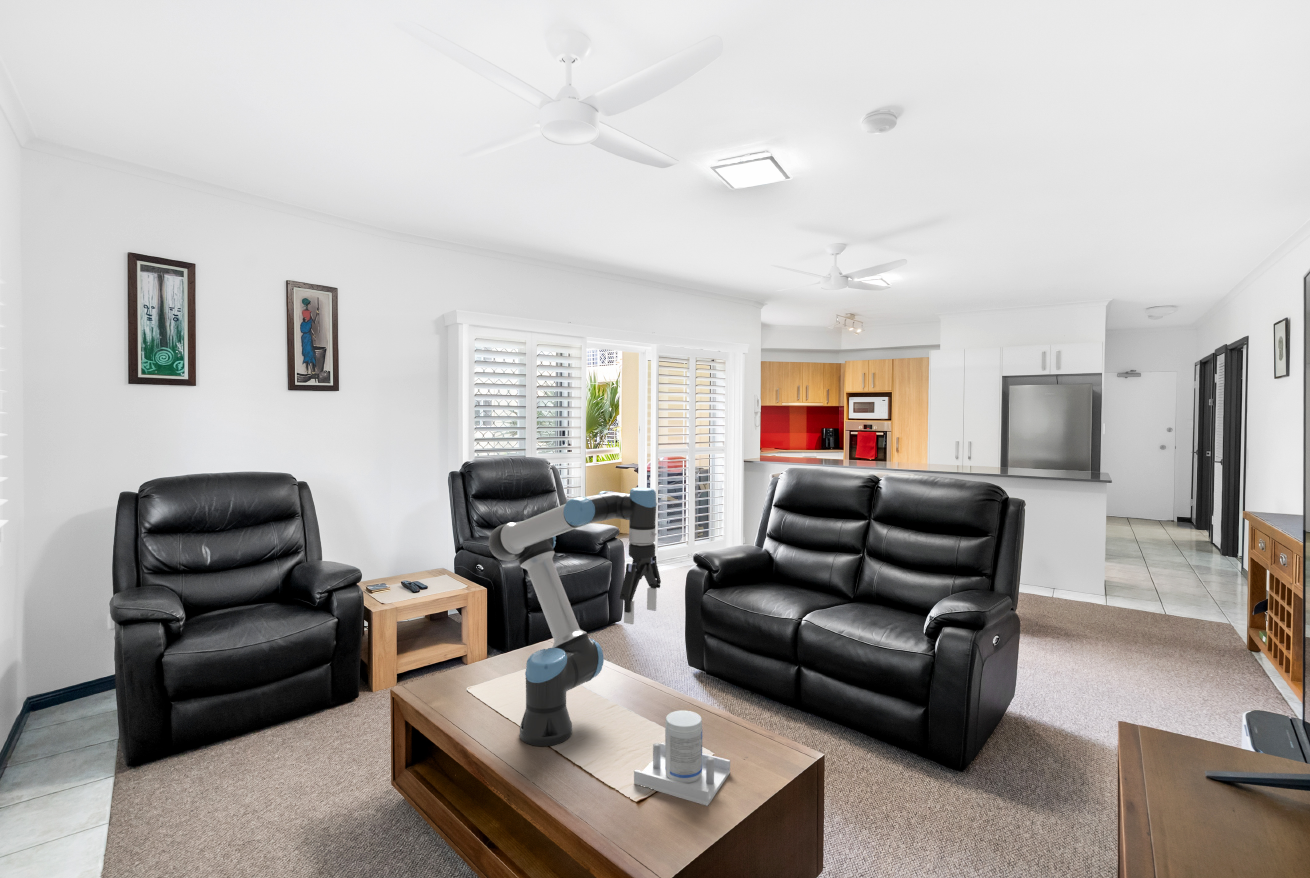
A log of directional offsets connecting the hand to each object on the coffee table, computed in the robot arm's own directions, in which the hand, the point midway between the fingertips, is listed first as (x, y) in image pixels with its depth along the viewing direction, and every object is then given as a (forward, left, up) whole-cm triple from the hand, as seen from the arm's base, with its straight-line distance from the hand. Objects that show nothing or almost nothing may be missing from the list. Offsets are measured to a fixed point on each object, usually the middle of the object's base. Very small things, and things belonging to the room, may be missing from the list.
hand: (640, 616), depth 184 cm
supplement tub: (+19, -12, -35) cm, 42 cm away
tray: (+19, -12, -36) cm, 42 cm away
